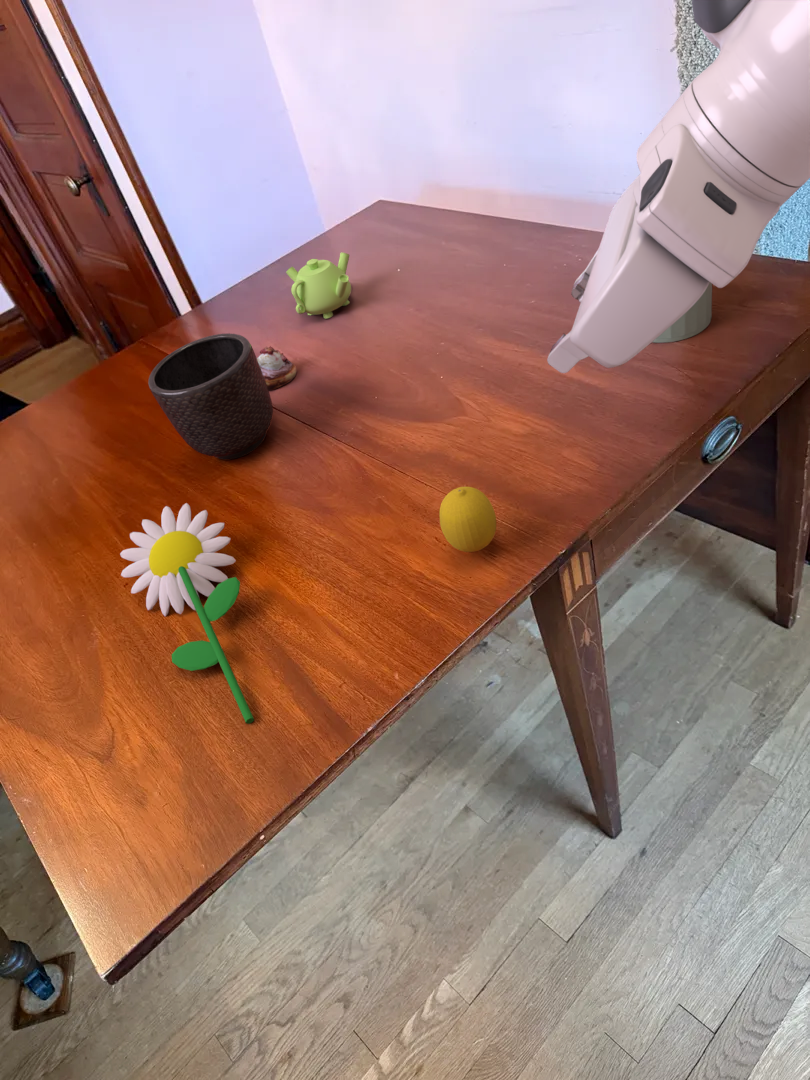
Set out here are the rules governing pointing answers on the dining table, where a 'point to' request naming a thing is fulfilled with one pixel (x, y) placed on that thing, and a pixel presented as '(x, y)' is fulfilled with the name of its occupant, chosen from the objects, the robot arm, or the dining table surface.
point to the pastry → (275, 368)
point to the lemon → (467, 519)
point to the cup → (690, 320)
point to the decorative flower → (187, 583)
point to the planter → (215, 395)
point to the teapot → (321, 286)
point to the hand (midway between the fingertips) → (568, 327)
